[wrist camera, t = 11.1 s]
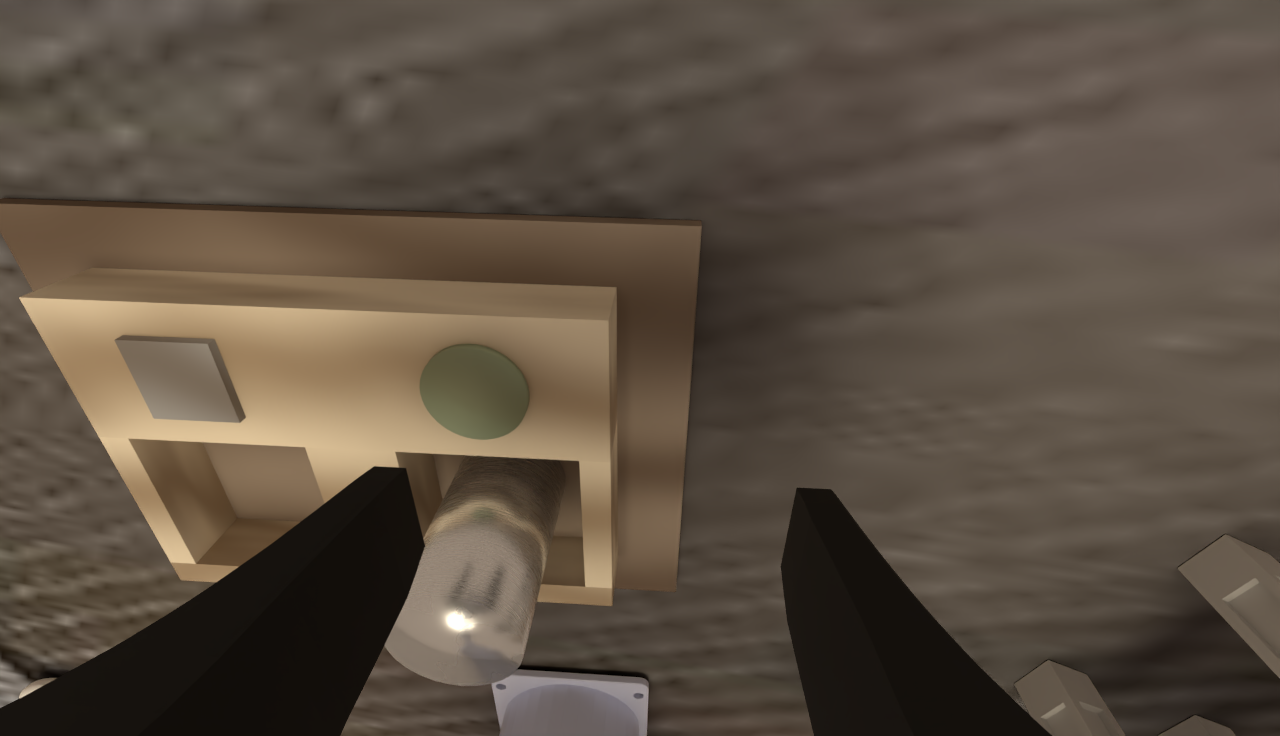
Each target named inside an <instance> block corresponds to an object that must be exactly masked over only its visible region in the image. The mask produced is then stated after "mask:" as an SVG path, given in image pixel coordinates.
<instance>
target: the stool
mask: <svg viewBox="0 0 1280 736" xmlns="http://www.w3.org/2000/svg"><path fill="white" fill-rule="evenodd" d="M1177 569H1178V570H1179V571H1180V572H1181V573H1182V574H1183V575H1184V576H1185V577H1186V578H1187V579H1188V581H1189V582H1190V583H1191V584H1192V585H1193V586H1194V587H1195V588H1196V589H1197V590H1198V591H1199V592H1200V593H1201V594H1202V596H1203V597H1204V598H1205V599H1206V600H1207V601H1208V602H1209V603H1210V604H1211V605H1212V606H1213V607H1214V608H1215V610H1216V611H1217V612H1218V613H1219V614H1220V615H1221V616H1222V617H1223V618H1224V619H1225V620H1226V621H1227V622H1228V624H1229V625H1230V626H1231V627H1232V628H1233V629H1234V630H1235V631H1236V632H1237V633H1238V634H1239V635H1240V636H1241V638H1242V639H1243V640H1244V641H1245V642H1246V643H1247V644H1248V645H1249V646H1250V647H1251V648H1252V649H1253V650H1254V651H1255V653H1256V654H1257V655H1258V656H1259V657H1260V658H1261V659H1262V660H1263V661H1264V662H1265V663H1266V664H1267V665H1268V667H1269V668H1270V669H1271V670H1272V671H1273V672H1274V673H1275V674H1276V675H1277V676H1278V677H1279V678H1280V563H1279V562H1278V561H1277V560H1275V559H1274V558H1273V557H1272V556H1271V555H1270V554H1268V553H1266V552H1264V551H1262V550H1259V549H1257V548H1255V547H1253V546H1251V545H1248V544H1246V543H1244V542H1242V541H1240V540H1237V539H1235V538H1233V537H1231V536H1229V535H1226V534H1225V535H1224V536H1222V537H1221V538H1220V539H1218V540H1217V541H1215V542H1214V543H1212V544H1211V545H1210V546H1208V547H1207V548H1205V549H1204V550H1202V551H1201V552H1200V553H1198V554H1197V555H1195V556H1194V557H1193V558H1191V559H1190V560H1188V561H1187V562H1185V563H1184V564H1183V565H1181V566H1180V567H1178V568H1177ZM1014 685H1015V687H1016V689H1017V691H1018V693H1019V694H1020V696H1021V698H1022V700H1023V702H1024V704H1025V706H1026V708H1027V710H1028V712H1029V714H1030V716H1031V717H1032V718H1033V719H1035V720H1036V721H1037V722H1038V723H1039V724H1040V725H1041V726H1042V727H1043V728H1044V729H1045V730H1047V731H1048V732H1049V733H1050V734H1051V735H1052V736H1126V735H1125V734H1124V732H1123V731H1122V729H1121V727H1120V726H1119V724H1118V723H1117V721H1116V720H1115V718H1114V716H1113V715H1112V713H1111V712H1110V710H1109V709H1108V707H1107V705H1106V704H1105V702H1104V701H1103V699H1102V698H1101V696H1100V694H1099V693H1098V691H1097V690H1096V688H1095V687H1094V685H1093V683H1092V682H1091V680H1090V679H1089V677H1088V676H1087V674H1084V673H1081V672H1079V671H1076V670H1073V669H1071V668H1068V667H1066V666H1063V665H1060V664H1058V663H1055V662H1052V661H1050V660H1047V661H1046V662H1044V663H1043V664H1042V665H1040V666H1039V667H1037V668H1036V669H1035V670H1033V671H1032V672H1030V673H1029V674H1027V675H1026V676H1025V677H1023V678H1022V679H1020V680H1019V681H1017V682H1016V683H1015V684H1014ZM1158 736H1236V735H1235V734H1234V733H1233V731H1232V730H1231V729H1230V728H1228V727H1225V726H1223V725H1220V724H1217V723H1215V722H1212V721H1210V720H1207V719H1204V718H1202V717H1199V716H1196V715H1194V716H1193V717H1191V718H1189V719H1187V720H1185V721H1183V722H1182V723H1180V724H1178V725H1176V726H1174V727H1173V728H1171V729H1169V730H1167V731H1165V732H1164V733H1162V734H1160V735H1158Z"/></svg>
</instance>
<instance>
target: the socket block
mask: <svg viewBox="0 0 1280 736" xmlns="http://www.w3.org/2000/svg"><path fill="white" fill-rule="evenodd" d="M701 230H702V224H701V220H670V219H639V218H607V217H576V216H545V215H513V214H482V213H451V212H419V211H388V210H357V209H325V208H294V207H263V206H231V205H200V204H169V203H137V202H106V201H75V200H43V199H12V198H3V199H0V233H1V234H2V236H3V238H4V240H5V242H6V243H7V245H8V247H9V249H10V251H11V252H12V254H13V256H14V258H15V259H16V261H17V263H18V265H19V267H20V268H21V270H22V272H23V274H24V276H25V277H26V279H27V281H28V283H29V285H30V286H31V288H32V290H33V292H31V293H29V294H26V295H24V296H21V297H19V298H20V300H21V302H22V304H23V305H24V307H25V309H26V311H27V312H28V314H29V316H30V318H31V319H32V321H33V323H34V325H35V326H36V328H37V330H38V331H39V333H40V335H41V337H42V338H43V340H44V342H45V344H46V345H47V347H48V349H49V351H50V352H51V354H52V356H53V358H54V359H55V361H56V363H57V365H58V366H59V368H60V370H61V372H62V373H63V375H64V377H65V379H66V380H67V382H68V384H69V386H70V387H71V389H72V391H73V393H74V394H75V396H76V398H77V400H78V401H79V403H80V405H81V407H82V408H83V410H84V412H85V414H86V415H87V417H88V419H89V420H90V422H91V424H92V426H93V427H94V429H95V431H96V433H97V434H98V436H99V438H100V440H101V441H102V443H103V445H104V447H105V448H106V450H107V452H108V454H109V455H110V457H111V459H112V461H113V462H114V464H115V466H116V468H117V469H118V471H119V473H120V475H121V476H122V478H123V480H124V482H125V483H126V485H127V487H128V489H129V490H130V492H131V494H132V496H133V497H134V499H135V501H136V503H137V504H138V506H139V508H140V509H141V511H142V513H143V515H144V516H145V518H146V520H147V522H148V523H149V525H150V527H151V529H152V530H153V532H154V534H155V536H156V537H157V539H158V541H159V543H160V544H161V546H162V548H163V550H164V551H165V553H166V555H167V557H168V558H169V560H170V562H171V564H172V565H173V567H174V569H175V571H176V572H177V574H178V576H179V578H180V579H181V580H188V581H205V582H218V581H219V580H221V579H222V578H223V577H225V576H226V575H228V574H229V573H230V572H232V571H233V570H235V569H236V568H238V567H239V566H240V565H242V564H243V563H245V562H246V561H248V560H249V559H250V558H252V557H253V556H255V555H256V554H258V553H259V552H260V551H262V550H263V549H265V548H266V547H268V546H269V545H270V544H272V543H273V542H274V541H276V540H277V539H278V538H280V537H281V536H282V535H284V534H285V533H286V532H288V531H289V530H290V529H292V528H293V527H294V526H296V525H297V524H298V523H300V522H301V521H302V520H304V519H305V518H306V517H307V516H309V515H310V514H311V513H313V512H314V511H315V510H317V509H318V508H319V507H321V506H322V505H323V504H324V503H326V502H327V501H328V500H330V499H331V498H332V497H334V496H335V495H336V494H337V493H339V492H340V491H341V490H343V489H344V488H345V487H347V486H348V485H349V484H351V483H352V482H353V481H354V480H356V479H357V478H358V477H360V476H361V475H363V474H364V473H365V472H367V471H368V470H370V469H371V468H372V467H374V466H379V467H399V468H406V470H407V474H408V478H409V482H410V486H411V490H412V494H413V498H414V502H415V507H416V511H417V515H418V519H419V523H420V527H421V531H422V535H423V538H424V536H425V534H426V532H427V530H428V528H429V526H430V524H431V522H432V520H433V518H434V516H435V514H436V512H437V510H438V508H439V506H440V504H441V502H442V500H443V498H444V496H445V494H446V492H447V490H448V488H449V486H450V484H451V482H452V480H453V478H454V476H455V474H456V472H457V470H458V468H459V466H460V464H461V462H462V460H463V459H464V457H465V455H470V456H490V457H510V458H530V459H550V460H559V461H560V463H561V465H562V467H563V469H564V472H565V477H566V485H565V490H564V494H563V498H562V502H561V506H560V510H559V514H558V519H557V523H556V527H555V531H554V535H553V539H552V543H551V547H550V551H549V555H548V559H547V563H546V567H545V571H544V575H543V579H542V583H541V587H540V591H539V595H538V599H537V602H554V603H571V604H587V605H604V606H612V604H613V595H614V588H618V589H635V590H652V591H669V592H676V582H677V568H678V554H679V540H680V526H681V512H682V497H683V483H684V469H685V455H686V441H687V427H688V413H689V399H690V385H691V371H692V357H693V343H694V328H695V314H696V300H697V286H698V272H699V258H700V244H701Z"/></svg>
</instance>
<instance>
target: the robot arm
mask: <svg viewBox="0 0 1280 736" xmlns="http://www.w3.org/2000/svg"><path fill="white" fill-rule="evenodd" d="M424 548H425V543H424V539H423V535H422V531H421V527H420V523H419V519H418V515H417V511H416V507H415V502H414V498H413V494H412V490H411V486H410V482H409V478H408V474H407V470H406V468H399V467H379V466H374V467H372V468H371V469H370V470H368V471H367V472H365V473H364V474H363V475H361V476H360V477H358V478H357V479H356V480H354V481H353V482H352V483H351V484H349V485H348V486H347V487H345V488H344V489H343V490H341V491H340V492H339V493H337V494H336V495H335V496H334V497H332V498H331V499H330V500H328V501H327V502H326V503H324V504H323V505H322V506H321V507H319V508H318V509H317V510H315V511H314V512H313V513H311V514H310V515H309V516H307V517H306V518H305V519H304V520H302V521H301V522H300V523H298V524H297V525H296V526H294V527H293V528H292V529H290V530H289V531H288V532H286V533H285V534H284V535H282V536H281V537H280V538H278V539H277V540H276V541H274V542H273V543H272V544H270V545H269V546H268V547H266V548H265V549H263V550H262V551H260V552H259V553H258V554H256V555H255V556H253V557H252V558H250V559H249V560H248V561H246V562H245V563H243V564H242V565H240V566H239V567H238V568H236V569H235V570H233V571H232V572H230V573H229V574H228V575H226V576H225V577H223V578H222V579H221V580H219V581H218V582H216V583H215V584H213V585H212V586H211V587H209V588H208V589H206V590H205V591H203V592H202V593H200V594H199V595H197V596H196V597H194V598H193V599H191V600H190V601H188V602H186V603H185V604H183V605H182V606H180V607H179V608H177V609H175V610H174V611H172V612H171V613H169V614H168V615H166V616H164V617H163V618H161V619H159V620H158V621H156V622H154V623H153V624H151V625H150V626H148V627H146V628H145V629H143V630H141V631H140V632H138V633H136V634H135V635H133V636H132V637H130V638H128V639H126V640H125V641H123V642H121V643H120V644H118V645H116V646H115V647H113V648H111V649H109V650H107V651H106V652H104V653H102V654H100V655H98V656H97V657H95V658H93V659H91V660H89V661H87V662H86V663H84V664H82V665H80V666H78V667H77V668H75V669H73V670H71V671H69V672H67V673H66V674H64V675H62V676H60V677H58V678H57V679H55V680H53V681H51V682H49V683H47V684H46V685H44V686H42V687H40V688H38V689H36V690H35V691H33V692H31V693H29V694H27V695H25V696H23V697H21V698H20V699H18V700H16V701H14V702H12V703H10V704H8V705H6V706H4V707H2V708H0V736H340V735H341V732H342V730H343V728H344V726H345V724H346V721H347V719H348V717H349V715H350V713H351V711H352V709H353V707H354V705H355V703H356V701H357V699H358V697H359V695H360V693H361V691H362V689H363V687H364V685H365V683H366V681H367V679H368V677H369V675H370V673H371V671H372V669H373V667H374V665H375V663H376V661H377V659H378V657H379V655H380V653H381V651H382V649H383V647H384V645H385V643H386V641H387V639H388V637H389V635H390V633H391V630H392V628H393V626H394V624H395V622H396V620H397V618H398V616H399V614H400V612H401V610H402V608H403V606H404V604H405V601H406V599H407V597H408V594H409V592H410V589H411V586H412V583H413V581H414V578H415V575H416V572H417V569H418V566H419V563H420V560H421V557H422V554H423V551H424ZM781 571H782V580H783V590H784V598H785V606H786V614H787V622H788V626H789V630H790V635H791V639H792V644H793V648H794V652H795V657H796V661H797V665H798V669H799V674H800V678H801V682H802V686H803V691H804V695H805V699H806V703H807V707H808V712H809V716H810V720H811V724H812V729H813V733H814V736H1052V735H1051V734H1050V733H1049V732H1048V731H1047V730H1045V729H1044V728H1043V727H1042V726H1041V725H1040V724H1039V723H1038V722H1037V721H1036V720H1035V719H1033V718H1032V717H1031V716H1030V715H1029V714H1028V713H1027V712H1026V711H1025V710H1024V709H1022V708H1021V707H1020V706H1019V705H1018V704H1017V703H1016V702H1015V701H1014V700H1013V699H1012V698H1011V697H1010V696H1009V695H1008V694H1007V693H1006V692H1005V691H1004V690H1003V689H1002V688H1001V687H1000V686H999V685H998V684H997V683H996V682H995V681H993V680H992V679H991V678H990V677H989V676H988V675H987V674H986V673H985V672H984V671H983V670H982V669H981V668H980V667H979V666H978V665H977V664H976V663H975V662H974V661H973V659H972V658H971V657H970V656H969V655H968V654H967V653H966V652H965V651H964V650H963V649H962V648H961V647H960V646H959V645H958V644H957V643H956V642H955V641H954V639H953V638H952V637H951V636H950V635H949V634H948V633H947V632H946V631H945V629H944V628H943V627H942V626H941V625H940V624H939V623H938V622H937V621H936V620H935V618H934V617H933V616H932V615H931V614H930V613H929V612H928V611H927V609H926V608H925V607H924V606H923V605H922V604H921V603H920V601H919V600H918V599H917V598H916V597H915V596H914V594H913V593H912V592H911V591H910V589H909V588H908V587H907V586H906V585H905V583H904V582H903V581H902V580H901V579H900V577H899V576H898V575H897V574H896V573H895V571H894V570H893V569H892V568H891V567H890V565H889V564H888V563H887V562H886V560H885V559H884V558H883V557H882V555H881V554H880V553H879V551H878V550H877V549H876V548H875V546H874V545H873V544H872V542H871V541H870V540H869V538H868V537H867V536H866V535H865V533H864V532H863V531H862V529H861V528H860V527H859V525H858V524H857V523H856V521H855V520H854V519H853V517H852V516H851V515H850V513H849V512H848V511H847V509H846V508H845V507H844V505H843V504H842V502H841V501H840V500H839V498H838V497H837V496H836V494H835V493H834V492H833V491H832V490H831V489H812V488H797V489H796V494H795V499H794V504H793V509H792V514H791V519H790V524H789V529H788V534H787V539H786V544H785V548H784V553H783V558H782V563H781ZM491 685H492V690H493V695H494V700H495V705H496V710H497V715H498V720H499V725H500V734H499V736H647V719H648V695H649V683H648V681H647V680H646V679H644V678H641V677H629V676H614V675H598V674H583V673H568V672H552V671H537V670H522V669H517V670H516V671H515V672H514V673H513V674H512V675H510V676H509V677H507V678H505V679H503V680H501V681H498V682H495V683H492V684H491Z"/></svg>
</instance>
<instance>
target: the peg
mask: <svg viewBox="0 0 1280 736" xmlns="http://www.w3.org/2000/svg"><path fill="white" fill-rule="evenodd" d="M565 485H566V477H565V472H564V469H563V467H562V465H561V463H560V461H559V460H550V459H530V458H510V457H490V456H470V455H465V457H464V459H463V460H462V462H461V464H460V466H459V468H458V470H457V472H456V474H455V476H454V478H453V480H452V482H451V484H450V486H449V488H448V490H447V492H446V494H445V496H444V498H443V500H442V502H441V504H440V506H439V508H438V510H437V512H436V514H435V516H434V518H433V520H432V522H431V524H430V526H429V528H428V530H427V532H426V534H425V536H424V538H423V539H424V543H425V548H424V551H423V554H422V557H421V560H420V563H419V566H418V569H417V572H416V575H415V578H414V581H413V583H412V586H411V589H410V592H409V594H408V597H407V599H406V601H405V604H404V606H403V608H402V610H401V612H400V614H399V616H398V618H397V620H396V622H395V624H394V626H393V628H392V630H391V633H390V635H389V637H388V639H387V641H386V643H385V647H386V649H387V650H388V652H389V653H390V654H391V655H392V656H393V657H394V658H395V659H396V660H397V661H398V662H399V663H401V664H402V665H403V666H405V667H406V668H408V669H409V670H411V671H413V672H415V673H417V674H419V675H421V676H423V677H426V678H428V679H431V680H434V681H438V682H441V683H446V684H451V685H459V686H480V685H487V684H492V683H495V682H498V681H501V680H503V679H505V678H507V677H509V676H510V675H512V674H513V673H514V672H515V671H516V670H517V669H518V667H519V666H520V664H521V662H522V660H523V656H524V652H525V648H526V644H527V640H528V635H529V631H530V627H531V623H532V619H533V615H534V611H535V607H536V603H537V599H538V595H539V591H540V587H541V583H542V579H543V575H544V571H545V567H546V563H547V559H548V555H549V551H550V547H551V543H552V539H553V535H554V531H555V527H556V523H557V519H558V514H559V510H560V506H561V502H562V498H563V494H564V490H565Z"/></svg>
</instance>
